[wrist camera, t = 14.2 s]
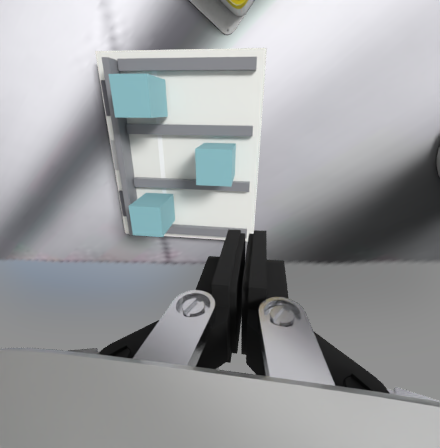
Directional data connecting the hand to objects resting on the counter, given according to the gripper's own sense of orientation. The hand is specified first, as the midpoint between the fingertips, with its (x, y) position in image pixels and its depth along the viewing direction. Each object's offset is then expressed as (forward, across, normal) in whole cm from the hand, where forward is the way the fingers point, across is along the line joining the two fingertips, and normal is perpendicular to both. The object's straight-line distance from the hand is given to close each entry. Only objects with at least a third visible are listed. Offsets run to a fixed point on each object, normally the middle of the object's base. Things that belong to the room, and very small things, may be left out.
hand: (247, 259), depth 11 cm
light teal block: (+23, +5, 0) cm, 23 cm away
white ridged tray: (+25, +10, -1) cm, 27 cm away
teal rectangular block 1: (+23, +13, -8) cm, 27 cm away
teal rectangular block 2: (+23, +14, +6) cm, 27 cm away
